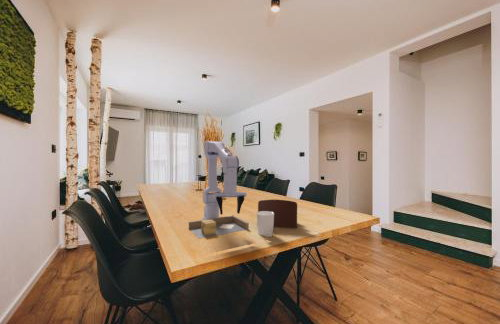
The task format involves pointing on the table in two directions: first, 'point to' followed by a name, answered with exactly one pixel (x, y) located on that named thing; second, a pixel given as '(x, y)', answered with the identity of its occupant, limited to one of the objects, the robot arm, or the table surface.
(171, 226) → the table surface
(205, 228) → the ochre block
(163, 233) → the table surface
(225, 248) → the table surface
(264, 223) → the white cup
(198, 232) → the arena
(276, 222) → the letter holder
